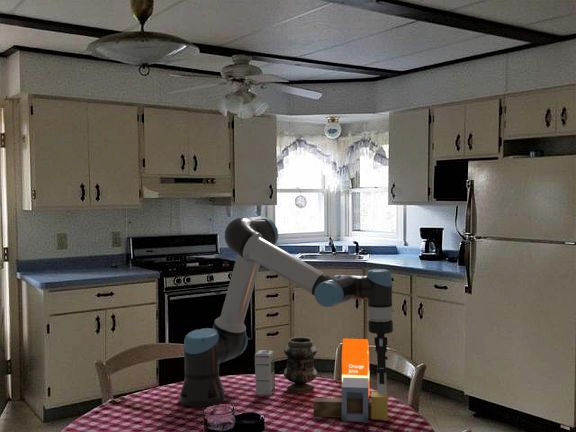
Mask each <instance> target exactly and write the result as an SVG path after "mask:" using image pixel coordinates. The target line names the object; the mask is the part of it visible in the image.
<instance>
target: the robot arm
mask: <svg viewBox="0 0 576 432" xmlns="http://www.w3.org/2000/svg"><path fill="white" fill-rule="evenodd" d="M278 239H279V230H278V228H277V226H276V224H275V222H274V221H273V220H271V219H270V218H269V217H266V216H260V215H255V216H251V217H250V216H249V217H248V216H247V217H238V218H235V219H233V220H232V221H230V222H229V223H228V224H227V226H226V228H225V230H224V240H225V241H224V242H225V243H226V245H227V247H228V248H229V250H231V251H232V252H234V254H235V255H236V260H235V261H234V262H235V263H234V265H233V271H232V273H231V277H230V281H229V285H228V287H227V292H226V295H225V298H224V299H225V300H224V302H223V306H222V309H221V314H220V316H219V317H217V318H216V319H214V322H213V326H212V328H211V327H210V328H209V327H206V328H200V329H195V330H194V329H193V330H192V331H190V332H188V333H187V334H186V335H185V337H184V338H183V339H184V341H183V342H184V343H183V355H184V357H183V358H184V359H183V360H184V379H183V384H182V387H181V391H180V393H179V402H180V403H181V405H184V406H187V407H193V408H201V407H202V408H205V407H210V405H212V406H214V405H213V404H216V405H218V404H221V403H222V402H224V401H225V395H226V393H225V390H224V387H223V384H222V381H221V378H220V364H222V363H225V362H227V361H230V360H233V359H236V358H238V357H239V356H240V355H242V354H243V353H244V352H245V350H246V349H247V346H248V343H249V342H248V341H249V338H248V336H247V331H246V330H247V327H246V325H245V319H246V315H247V312H248V308H249V304H250V302H251V298H252V295H253V290H254V287H255V284H256V281H257V276H258V273H259V270H260V266H263V267H265V268H266V269H268V270H269V271H271V272H273V273H274V274H276V275H278V276H279V277H282V279H285V280H287V281H288V282H290V283H292V284H293V285H294V286H296V287H299V288H301V289H302V290H304V291H305V292H306V293H309V294H311V295H312V296H314V298H315V301H316V302H317V304H319V305H320V306H322V307H325V308H329V307H330V308H331V307H335V306H337V305H339V304H341V303H344V302H348V301H351V300H365V301H366V300H367V317H368V319H369V320H368V321H367V323H368V332H369V333H371V334H376V336H374V346H375V352H376V359H377V360H376V362H377V363H376V367H377V368H376V369H375V370H374V373H375V374H376V381H377V382H376V383H377V385H376V386H377V388H376V389H377V391H376V392H378V394H387V395H388V391H387V369H386V368H387V367H386V366H387V363H386V361H387V360H388V356H386V353H387V352H388V351H387V350H388V337H387V336H385V335H386V334H387V335H388V334H391V333H392V332H394V326H393V325H394V321H393V320H392V319H393V313H395V309H394V308H393V281H392V273H391V271H390V270H388V269H384V268H382V269H381V268H379V269H378V268H376V269H368V271H367V272H366V275H353V274H344V273H343V274H336V275H334V276H333V277H332V276H330V275H327V274H326V273H325V272H322V271H321V270H319V269H318V268H316V267H314V266H312V265H310V264H308V263H306V262H305V261H304V260H302V259H299V258H298V257H296V256H294V255H292V254H291V253H289V252H288V251H285V250H284V249H282V248H280V247H279V246H277V245H276V244H277V242H278Z"/></svg>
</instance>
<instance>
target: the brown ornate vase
mask: <svg viewBox="0 0 576 432" xmlns="http://www.w3.org/2000/svg"><path fill="white" fill-rule="evenodd" d="M283 352H284V355H285V356H286V357H287V359H286V360H287V363H286V367H285V369H284V370H283V376H284V378H285V379H286V380H287V381H288V382H290V383H292V384H290V385H288V386H287V387H286V390H287V391H288V392H289V393H293V394H308V393H311V392H314V390H315V387H314V386H313V385H311V384H310V382H312V381H314V380H315V379H316V378H317V376H318V371H317V370H316V368H315V365H314V357H315V356H316V354H317V353H318V349H317V347H316V345H315V344H313V339H311V338H310V337H307V336H306V337H305V336H295V337H291V338H289V339H288V343H287V345H286V346H285V347H284V348H283Z"/></svg>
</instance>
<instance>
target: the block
mask: <svg viewBox="0 0 576 432" xmlns="http://www.w3.org/2000/svg"><path fill="white" fill-rule="evenodd" d="M370 393H371V394H370V395H371V396H370V398H371V418H370V419H371V420H385V421H386V420H389V417H388V416H389V413H388V412H389V411H388V410H389V404H388V403H389V401H388V400H389V399H388V398H389V397H388V393H387V394H378V391H371V392H370Z"/></svg>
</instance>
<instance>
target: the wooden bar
mask: <svg viewBox="0 0 576 432" xmlns="http://www.w3.org/2000/svg"><path fill="white" fill-rule="evenodd" d="M312 402H313V404H312V405H313V410H312V411H313V412H312V413H313V417H319V418H320V417H322V418H326V417H327V418H342V397H341V398H339V397H338V398H337V397H336V398H335V397H334V398H333V397H330V398H329V397H314V398H313V400H312ZM347 413H363V399H347ZM368 419H372V418H371V399H370V398H369V399H368Z"/></svg>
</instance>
